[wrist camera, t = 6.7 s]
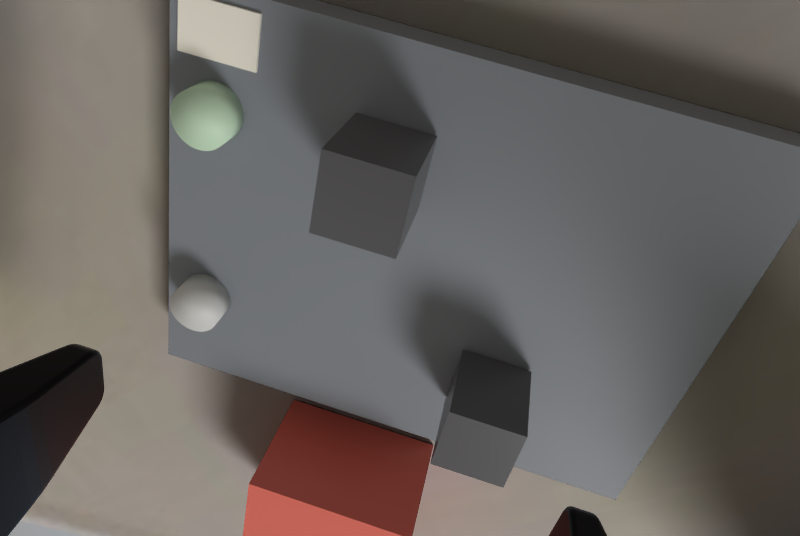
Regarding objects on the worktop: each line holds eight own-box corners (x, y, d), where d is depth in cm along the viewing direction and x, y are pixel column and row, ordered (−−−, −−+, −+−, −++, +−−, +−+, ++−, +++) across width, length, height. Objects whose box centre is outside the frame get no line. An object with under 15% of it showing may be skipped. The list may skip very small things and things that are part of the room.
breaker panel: (818, 138, 17) (856, 173, 14) (612, 468, 24) (617, 522, 22) (196, -33, 18) (148, -25, 16) (187, 331, 25) (154, 370, 23)
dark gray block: (437, 135, 17) (416, 176, 15) (418, 210, 18) (396, 259, 16) (355, 112, 17) (321, 148, 15) (342, 187, 19) (308, 232, 16)
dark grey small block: (531, 371, 21) (527, 437, 18) (509, 420, 22) (503, 487, 19) (462, 349, 21) (449, 412, 18) (445, 399, 22) (430, 463, 20)
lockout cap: (433, 445, 26) (411, 538, 22) (402, 530, 29) (378, 625, 25) (293, 399, 26) (248, 484, 22) (278, 489, 30) (238, 575, 26)
